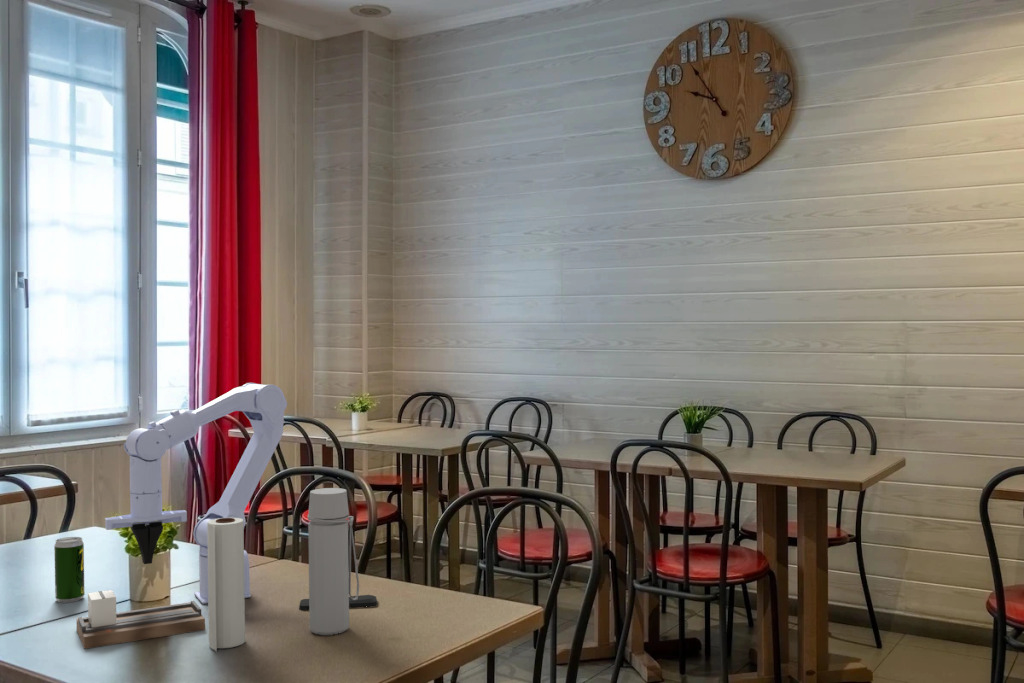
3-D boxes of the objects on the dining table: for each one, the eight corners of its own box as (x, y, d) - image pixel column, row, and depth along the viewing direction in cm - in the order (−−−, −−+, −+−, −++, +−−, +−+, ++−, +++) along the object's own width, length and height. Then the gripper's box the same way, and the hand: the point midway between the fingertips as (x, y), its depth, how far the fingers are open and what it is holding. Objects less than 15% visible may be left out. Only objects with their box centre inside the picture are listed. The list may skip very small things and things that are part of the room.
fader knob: (112, 616, 176) (112, 589, 176) (116, 623, 172) (116, 596, 172) (88, 620, 174) (87, 592, 174) (91, 627, 170) (91, 599, 170)
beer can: (57, 604, 193) (56, 543, 192) (53, 598, 197) (52, 538, 197) (87, 600, 196) (86, 540, 195) (82, 594, 200) (81, 535, 200)
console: (191, 612, 187) (190, 596, 187) (205, 629, 176) (204, 613, 176) (76, 629, 177) (76, 613, 177) (84, 648, 166) (84, 631, 166)
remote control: (298, 615, 187) (377, 608, 190) (297, 606, 187) (377, 599, 190) (300, 608, 192) (377, 601, 194) (299, 599, 192) (376, 592, 194)
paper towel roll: (231, 635, 173) (230, 514, 172) (252, 642, 169) (250, 519, 168) (195, 646, 167) (193, 521, 167) (216, 653, 163) (214, 525, 163)
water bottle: (315, 639, 170) (313, 496, 169) (303, 627, 177) (301, 489, 176) (366, 631, 174) (364, 491, 174) (352, 620, 181) (350, 485, 181)
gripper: (181, 485, 194) (182, 553, 194) (102, 492, 187) (103, 563, 187) (188, 490, 188) (189, 561, 188) (107, 497, 181) (108, 571, 181)
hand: (147, 562), depth 187 cm, fingers closed
